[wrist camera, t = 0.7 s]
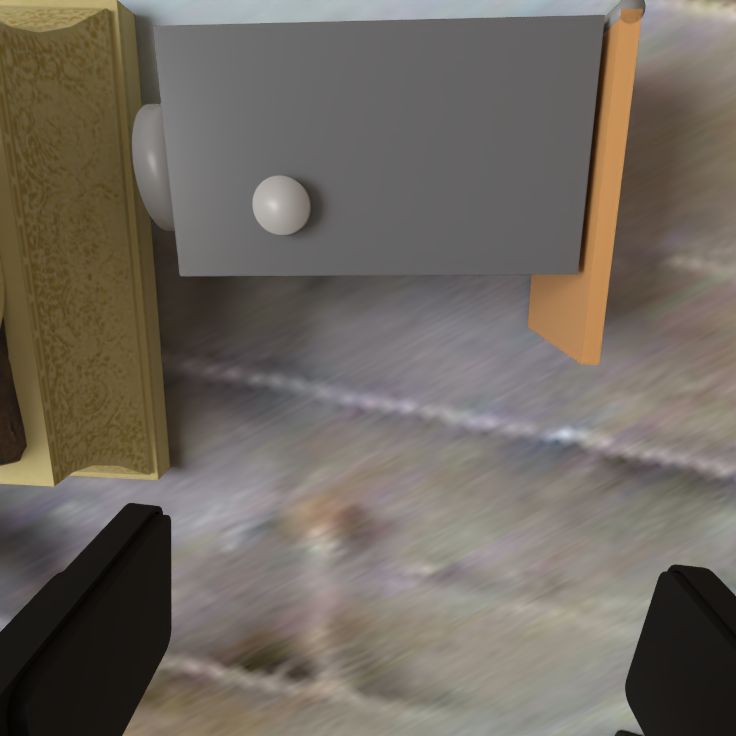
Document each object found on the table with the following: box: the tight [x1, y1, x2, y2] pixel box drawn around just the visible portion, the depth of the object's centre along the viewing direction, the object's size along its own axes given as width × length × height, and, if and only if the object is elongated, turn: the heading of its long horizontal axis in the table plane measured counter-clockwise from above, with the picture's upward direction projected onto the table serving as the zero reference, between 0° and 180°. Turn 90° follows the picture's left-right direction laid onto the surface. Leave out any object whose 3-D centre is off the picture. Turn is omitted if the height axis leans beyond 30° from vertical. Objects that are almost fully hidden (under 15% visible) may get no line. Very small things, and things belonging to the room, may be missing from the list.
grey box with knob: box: [132, 15, 605, 276], centre depth 25 cm, size 20×10×10 cm, turn 90°
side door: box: [528, 0, 645, 364], centre depth 25 cm, size 2×14×9 cm, turn 0°
